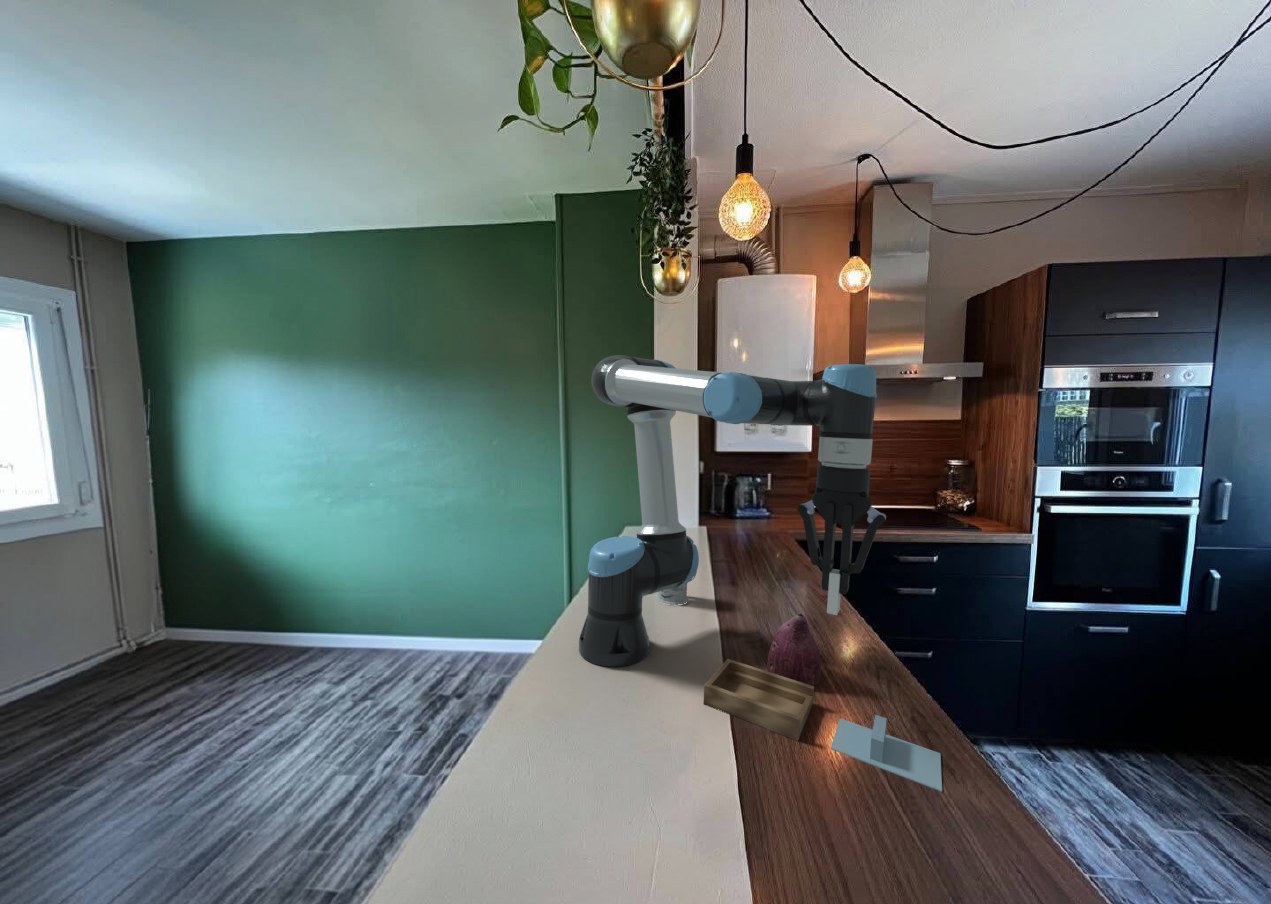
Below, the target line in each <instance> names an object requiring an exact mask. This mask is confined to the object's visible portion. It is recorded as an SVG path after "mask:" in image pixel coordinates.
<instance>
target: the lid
mask: <svg viewBox="0 0 1271 904" xmlns="http://www.w3.org/2000/svg"><path fill="white" fill-rule="evenodd" d="M838 719H839V720H838V722H837V725H836V726H837V727H836V730H835V733H834V735H833V740H832V743H831V747H830V750H832V751H834V752H837V753H839V754H842V755H844V756H847V757H850V758H853V759H854V760H855V759H856V760H858V761H860V762H863V763H866V764H868V765H871V766H873V767H875V768H879V769H881V770H883V771H886V772H888V773H892V774H894V775H896V776H899V777H902V778H904V779H907V780H910V781H912V782H915V783H918V784H920V785H923V786H926V787H928V788H930V789H933V790H936V791H938V792H941V793H942V792H943V783H942V760H941V757H942V756H941V752H938V751H935V750H932V749H929V748H926V747H924V746H921V745H918V744H914V743H912V742H909V741H906V740H904V739H903V740H902V739H901V738H899V737H895V736H892V735H890V734H889V735H888V734H887V724H888V723H887V717H884V716H882V715H881V716H880V715H877V714H874V721H873V726H872V729H871V728H869V727H866V726H863V725H860V724H858V723H855V722H853V721H848V720H846V719H843V718H841V717H840V718H838Z"/></svg>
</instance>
